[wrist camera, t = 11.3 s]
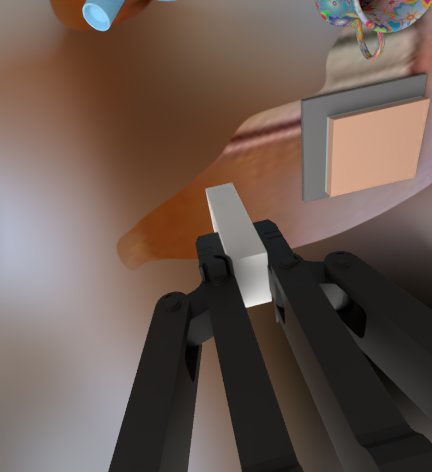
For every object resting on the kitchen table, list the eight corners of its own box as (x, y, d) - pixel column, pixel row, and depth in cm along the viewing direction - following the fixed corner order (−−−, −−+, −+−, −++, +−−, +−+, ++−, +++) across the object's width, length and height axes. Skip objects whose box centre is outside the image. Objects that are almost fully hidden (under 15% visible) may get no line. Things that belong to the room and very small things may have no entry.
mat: (302, 200, 54) (304, 202, 54) (300, 100, 45) (303, 101, 45) (404, 176, 55) (408, 178, 55) (423, 73, 46) (427, 73, 45)
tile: (330, 197, 52) (414, 177, 52) (333, 120, 45) (430, 98, 45) (325, 191, 53) (406, 172, 54) (327, 116, 46) (420, 95, 47)
